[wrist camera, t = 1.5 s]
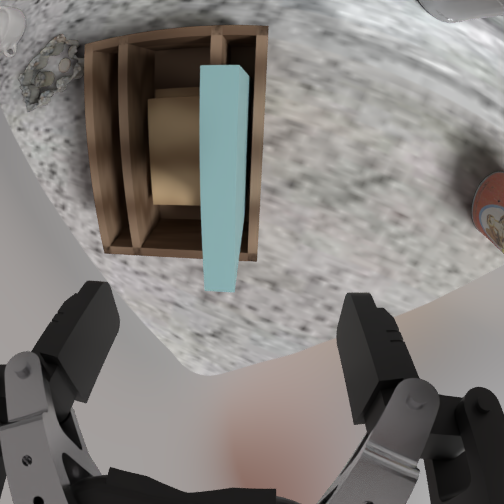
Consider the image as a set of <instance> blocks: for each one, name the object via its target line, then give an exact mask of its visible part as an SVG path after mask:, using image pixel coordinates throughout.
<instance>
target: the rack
mask: <svg viewBox="0 0 504 504" xmlns="http://www.w3.org/2000/svg"><path fill="white" fill-rule="evenodd" d="M267 47H268V26H258V25H214V26H195V27H182V28H172V29H163V30H155V31H148V32H141V33H135V34H129V35H124V36H119V37H114V38H109V39H105V40H100V41H96V42H92V43H88V44H85V53H84V95H85V118H86V133H87V145H88V155H89V164H90V172H91V180H92V187H93V194H94V201H95V207H96V213H97V218H98V224H99V229H100V234H101V239H102V244H103V249H104V253H107V254H124V255H141V256H159V257H177V258H196V259H203V250H202V227H201V206H197V205H153V194H152V182H151V168H150V151H149V129H148V99H152V98H156V97H155V90H157V89H170V88H188V87H200V65H240V66H241V67H242V68H243V70H244V71H245V72H246V73H247V74H248V75H249V76H250V78H251V79H252V90H251V115H250V141H249V168H248V193H247V201H246V208H245V215H244V223H243V230H242V238H241V246H240V253H239V261H255V262H257V249H258V231H259V212H260V192H261V173H262V153H263V133H264V112H265V91H266V70H267Z"/></svg>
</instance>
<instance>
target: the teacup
mask: <svg viewBox="0 0 504 504" xmlns="http://www.w3.org/2000/svg"><path fill="white" fill-rule="evenodd" d="M25 26H26V18H25V15H24V14H23V12H22V11H21V10H19V9H16V8H13V7H8V6H0V52H3V53H4V55H5V56H6V57H9V58H12V57H13V56H14V55H15V54H16V47H17V42H18V41H19V40H20V39H21V37H22V35H23V33H24V30H25ZM9 49H12V50H13V54H9V53H8V52H7V50H9Z"/></svg>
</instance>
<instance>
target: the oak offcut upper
mask: <svg viewBox="0 0 504 504" xmlns="http://www.w3.org/2000/svg"><path fill="white" fill-rule="evenodd" d="M148 129H149V151H150V168H151V182H152V194H153V205H197V206H201V197H200V96H180V97H163V98H152V99H148Z"/></svg>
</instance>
